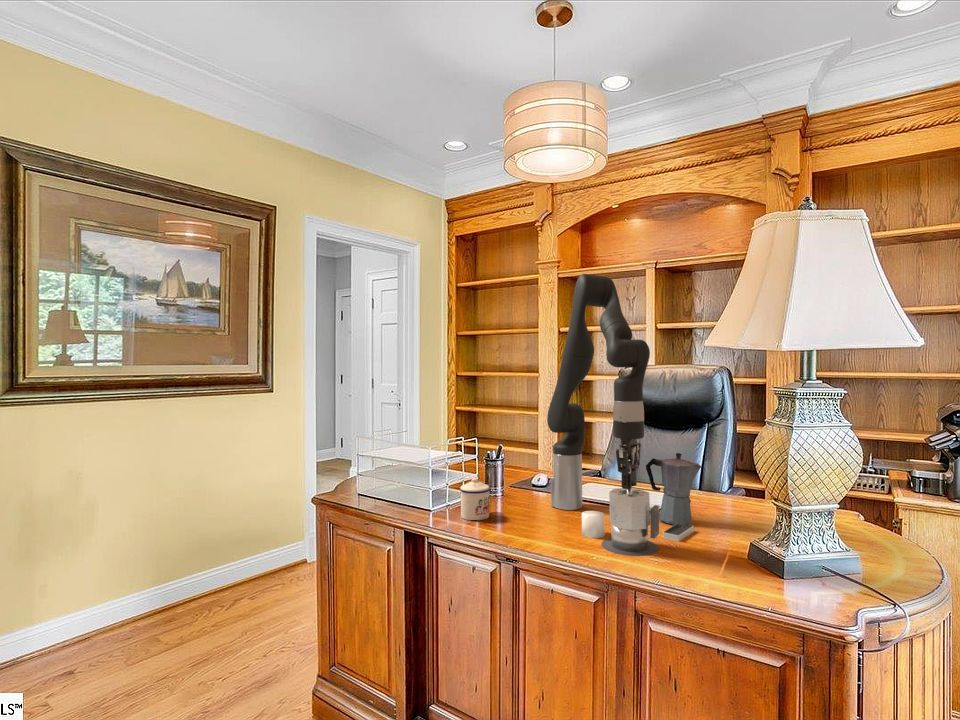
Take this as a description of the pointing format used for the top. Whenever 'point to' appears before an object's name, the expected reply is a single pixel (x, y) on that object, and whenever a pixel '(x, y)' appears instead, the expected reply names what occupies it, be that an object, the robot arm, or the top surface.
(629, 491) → the plunger
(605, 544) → the coaster
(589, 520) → the white rounded cylinder
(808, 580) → the top surface
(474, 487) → the teacup with lid
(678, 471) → the moka pot
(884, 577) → the top surface
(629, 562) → the top surface
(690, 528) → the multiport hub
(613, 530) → the press carafe
